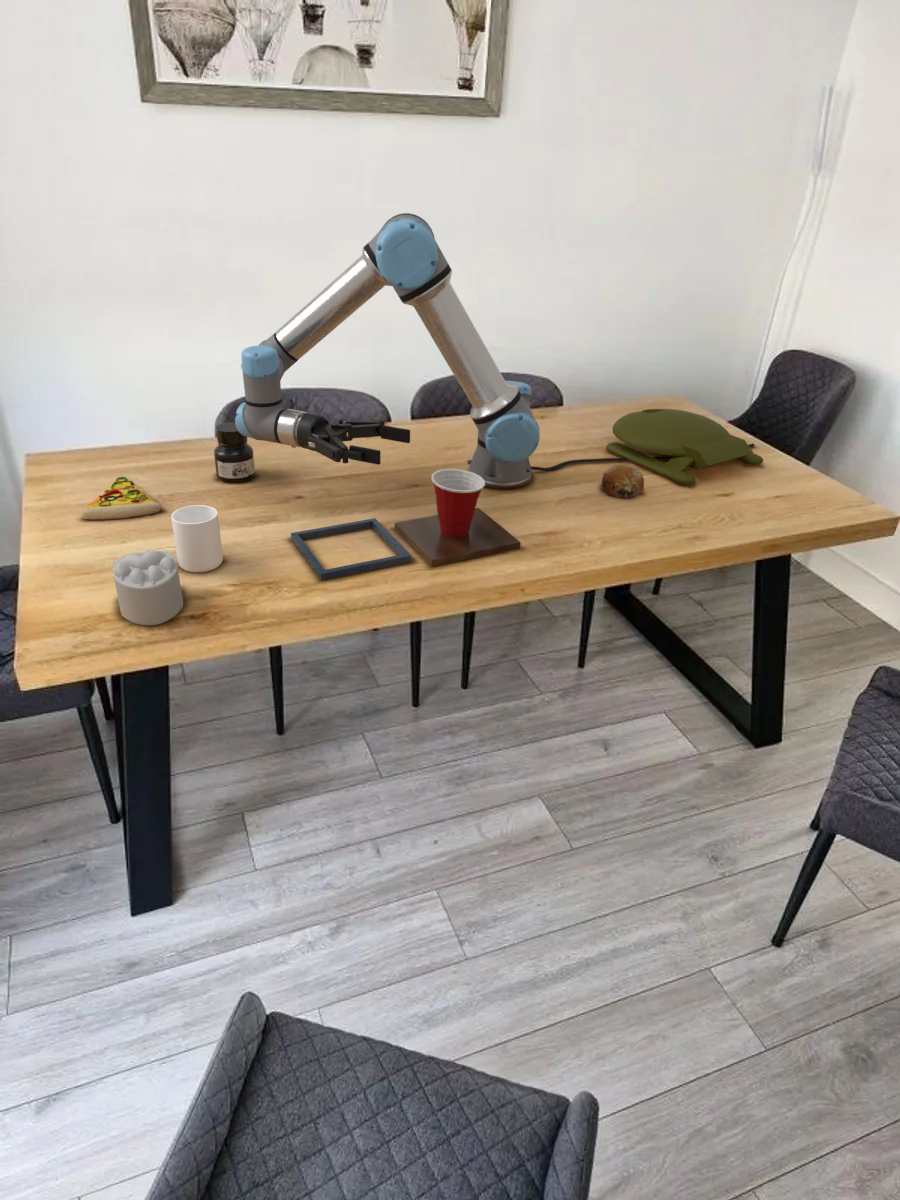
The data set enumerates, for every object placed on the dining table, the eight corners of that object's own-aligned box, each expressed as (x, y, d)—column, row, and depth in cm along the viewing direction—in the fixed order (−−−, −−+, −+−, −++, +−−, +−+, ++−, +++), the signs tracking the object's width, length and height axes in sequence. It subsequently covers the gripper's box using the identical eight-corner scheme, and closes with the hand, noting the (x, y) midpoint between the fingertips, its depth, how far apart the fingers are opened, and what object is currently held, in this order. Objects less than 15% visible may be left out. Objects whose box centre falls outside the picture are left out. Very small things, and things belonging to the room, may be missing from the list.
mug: (168, 550, 160) (160, 502, 155) (210, 542, 164) (204, 494, 159) (185, 577, 152) (177, 527, 146) (229, 567, 155) (223, 518, 150)
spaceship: (766, 465, 212) (775, 429, 207) (685, 489, 197) (692, 450, 192) (665, 426, 236) (671, 392, 231) (586, 444, 221) (590, 408, 216)
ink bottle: (218, 485, 188) (212, 435, 182) (211, 471, 195) (205, 423, 189) (260, 480, 192) (256, 430, 186) (252, 467, 199) (248, 418, 193)
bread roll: (642, 503, 197) (650, 470, 196) (636, 500, 188) (644, 465, 187) (602, 495, 201) (610, 462, 200) (594, 491, 191) (602, 457, 190)
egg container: (179, 583, 150) (172, 541, 145) (186, 619, 139) (180, 575, 135) (118, 592, 146) (110, 549, 142) (122, 630, 136) (112, 584, 132)
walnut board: (477, 513, 180) (478, 507, 180) (520, 548, 167) (520, 541, 166) (394, 529, 172) (394, 522, 171) (431, 567, 159) (431, 560, 158)
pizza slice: (83, 523, 169) (80, 509, 168) (86, 484, 186) (83, 472, 184) (161, 515, 174) (159, 502, 172) (158, 478, 191) (156, 466, 189)
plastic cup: (477, 547, 163) (480, 491, 157) (424, 540, 165) (425, 485, 159) (486, 524, 172) (489, 470, 166) (435, 518, 174) (437, 464, 168)
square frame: (375, 524, 174) (375, 518, 173) (411, 562, 160) (411, 555, 159) (291, 539, 166) (290, 532, 166) (321, 580, 153) (321, 573, 152)
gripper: (334, 429, 185) (420, 445, 178) (272, 466, 165) (366, 485, 158) (333, 397, 181) (420, 411, 174) (269, 430, 161) (365, 448, 154)
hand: (395, 446), depth 166 cm, fingers open, 13 cm apart
